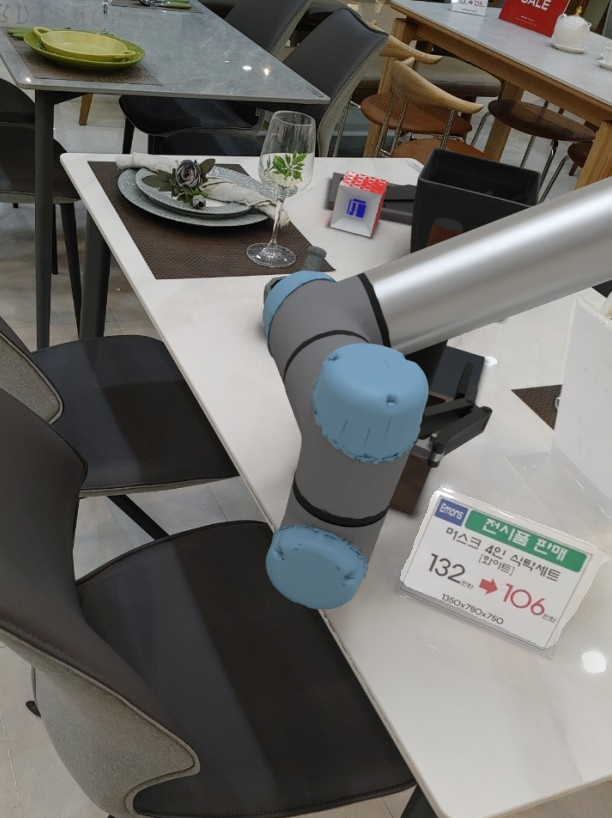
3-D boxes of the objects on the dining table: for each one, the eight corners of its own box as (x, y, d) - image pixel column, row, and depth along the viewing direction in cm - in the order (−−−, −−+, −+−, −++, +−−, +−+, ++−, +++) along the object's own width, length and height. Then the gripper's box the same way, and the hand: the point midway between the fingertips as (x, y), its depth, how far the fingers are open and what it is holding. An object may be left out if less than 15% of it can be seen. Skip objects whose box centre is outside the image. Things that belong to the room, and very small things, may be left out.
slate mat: (483, 360, 115) (485, 357, 115) (470, 408, 106) (472, 404, 105) (357, 321, 119) (358, 318, 119) (333, 364, 109) (334, 360, 109)
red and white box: (377, 222, 148) (388, 180, 143) (370, 237, 143) (381, 194, 137) (337, 212, 150) (347, 170, 144) (329, 226, 144) (338, 184, 139)
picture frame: (429, 198, 161) (331, 179, 162) (432, 188, 160) (333, 170, 160) (432, 228, 150) (327, 208, 150) (436, 218, 148) (329, 198, 149)
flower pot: (406, 236, 145) (434, 143, 134) (505, 263, 142) (542, 170, 131) (388, 277, 132) (417, 178, 120) (497, 307, 129) (537, 208, 117)
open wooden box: (432, 449, 98) (453, 398, 92) (412, 514, 88) (433, 461, 83) (331, 415, 100) (346, 363, 95) (301, 475, 91) (314, 421, 85)
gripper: (222, 453, 73) (290, 349, 88) (480, 542, 68) (505, 417, 83) (232, 387, 68) (302, 289, 83) (512, 480, 63) (533, 358, 78)
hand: (404, 353), depth 83 cm, fingers open, 13 cm apart
